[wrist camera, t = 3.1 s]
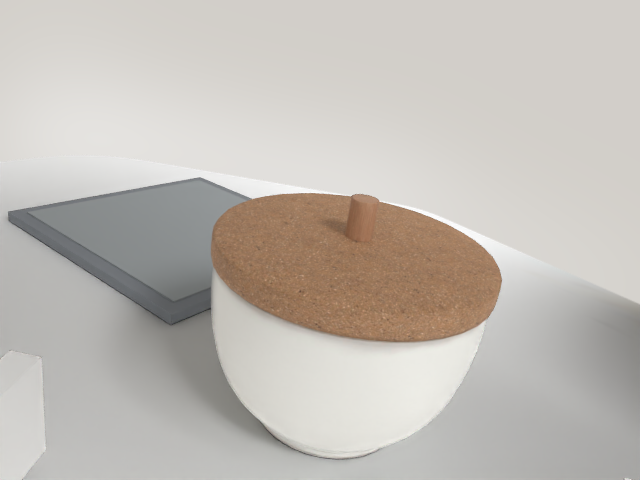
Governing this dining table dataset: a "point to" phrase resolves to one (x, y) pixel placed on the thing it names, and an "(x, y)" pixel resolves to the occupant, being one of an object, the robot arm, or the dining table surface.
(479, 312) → the lidded jar
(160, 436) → the dining table surface
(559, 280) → the dining table surface
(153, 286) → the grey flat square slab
